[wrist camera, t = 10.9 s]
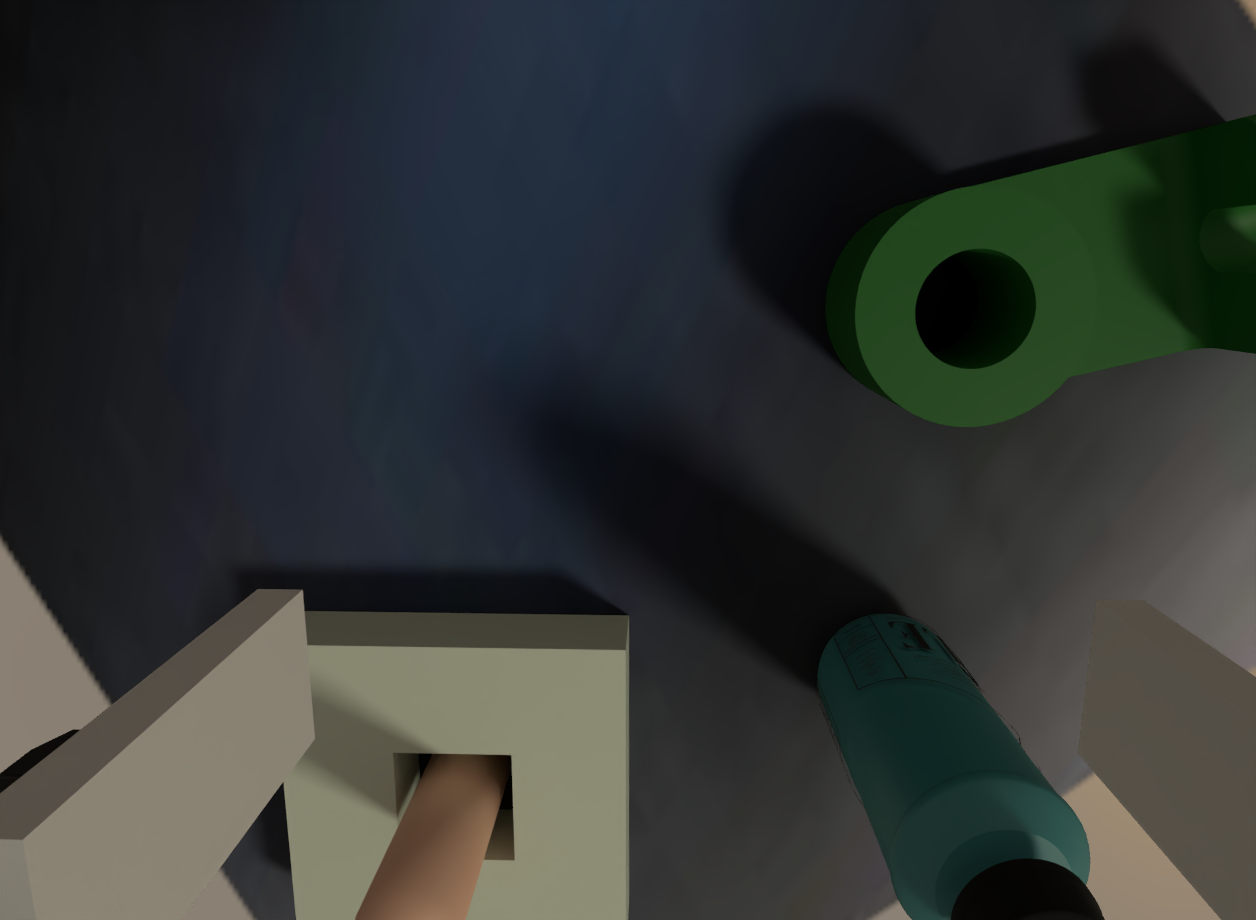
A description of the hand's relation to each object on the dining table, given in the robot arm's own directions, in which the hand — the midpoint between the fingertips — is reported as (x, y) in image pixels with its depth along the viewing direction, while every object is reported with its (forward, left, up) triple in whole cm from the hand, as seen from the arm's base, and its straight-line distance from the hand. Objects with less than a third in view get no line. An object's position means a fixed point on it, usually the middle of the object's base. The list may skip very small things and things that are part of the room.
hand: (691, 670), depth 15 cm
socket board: (+18, -10, -27) cm, 34 cm away
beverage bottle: (+12, +10, -27) cm, 31 cm away
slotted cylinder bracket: (-6, +16, -27) cm, 32 cm away
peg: (+18, -10, -27) cm, 34 cm away
